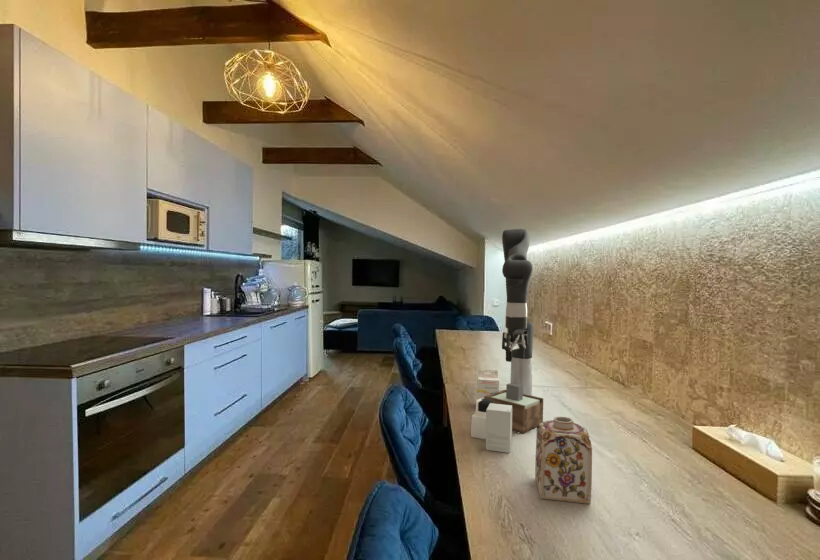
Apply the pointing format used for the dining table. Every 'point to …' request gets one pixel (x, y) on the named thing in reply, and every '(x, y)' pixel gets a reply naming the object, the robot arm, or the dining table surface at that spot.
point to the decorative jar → (563, 461)
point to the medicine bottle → (480, 418)
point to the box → (522, 413)
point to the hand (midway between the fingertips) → (515, 360)
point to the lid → (516, 395)
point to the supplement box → (499, 427)
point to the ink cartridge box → (487, 383)
